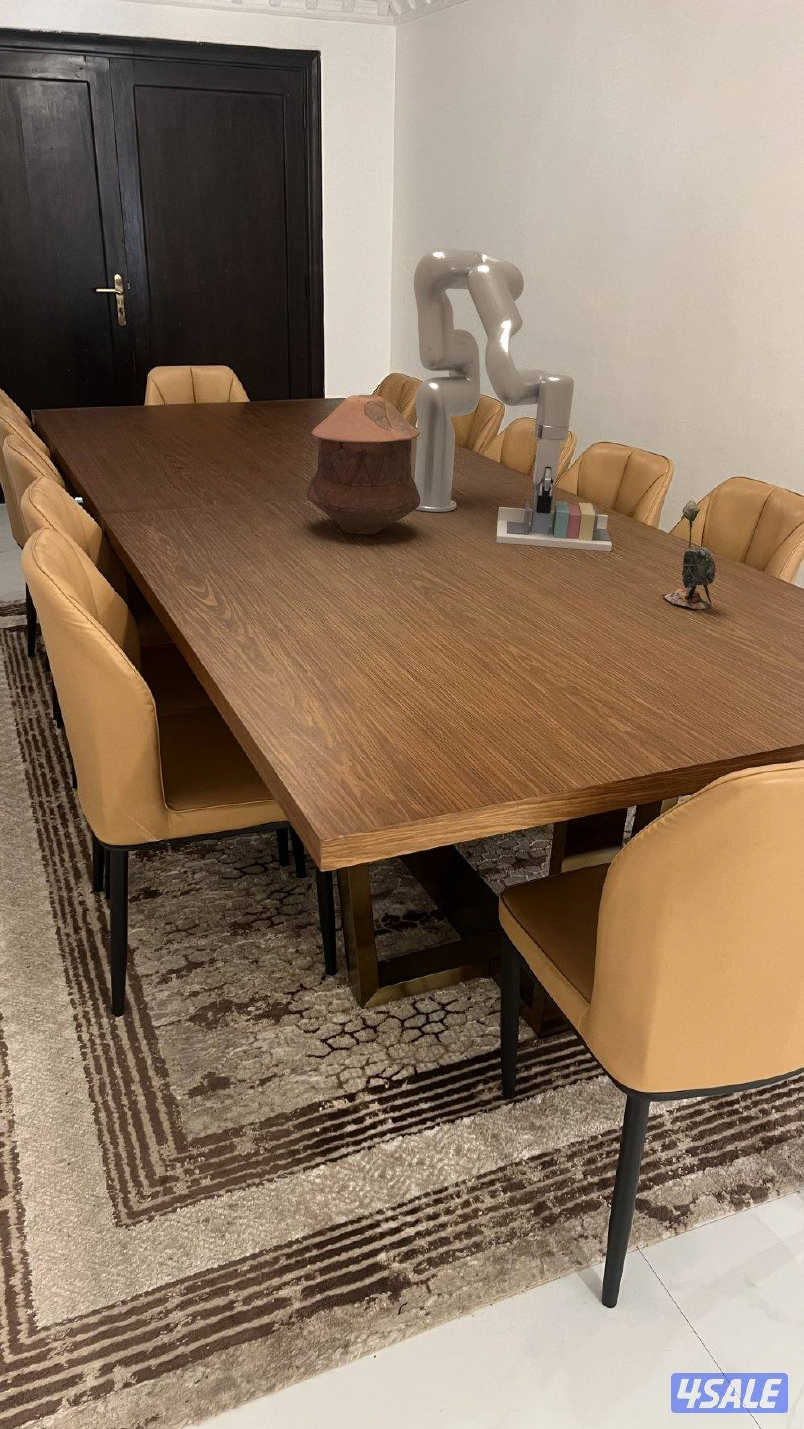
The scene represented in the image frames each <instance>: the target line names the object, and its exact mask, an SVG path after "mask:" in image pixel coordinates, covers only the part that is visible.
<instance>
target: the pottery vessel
mask: <svg viewBox="0 0 804 1429" xmlns="http://www.w3.org/2000/svg"><path fill="white" fill-rule="evenodd" d="M310 434H311V435H312V436H313V437H315V438H318V439H317V445H318V446H317V448H318V449H317V451H318V452H317V453H318V454H317V470H316V472H315V473H314V474H313V476H312V478H311V479H310V481H309V483H308V485H307V487H306V491H305V494H306V497H307V499H308V500H309V501H310V502H311V503H312V504H313V505H314V506H316V507H318V509H320V510H321V511H322V512H324V513H325V514H326V515H327V516H328V517H329V518H331V519H332V520H334V521H335V523H336V524H338V526H340V529H341V530H342V532H345V533H348V534H349V533H350V534H354V535H355V534H356V535H374V534H378V533H380V532H382V531H383V529H384V528H386V527H388V526H391V525H392V524H394V523H397V522H398V521H400V520H401V519H403V518H404V517H406V516H408V515H409V514H411V513H412V512H413V511H414V510H417V509H416V508H417V507H418V506H419V504H420V495H419V493H418V490H417V487H416V484H415V479H414V478H413V476H412V459H411V458H412V457H411V456H412V441H413V439H415V438H417V436H419V435H420V431H419V430H417V428H416V427H415V426H413V425H412V424H410V422H409V421H408V420H407V419H406V418H405V417H404V416H403V414H401V412H400V411H399V409H397V408H396V407H395V406H394V405H393V404H392V403H391V402H389V400H387V399H385V398H384V397H383V396H380V395H377V394H356V395H355V394H354V395H350V396H346V398H344V400H342V402H341V403H340V404H339V405H338V406H337V407H336V408H335V409H334V410H333V411H332V412H331V413H330V414H329V415H328V416H327V417H326V418H325V419H323V421H321V422H320V423H319V424H318V425H316V427H314V428H313V430H311V432H310Z"/></svg>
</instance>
